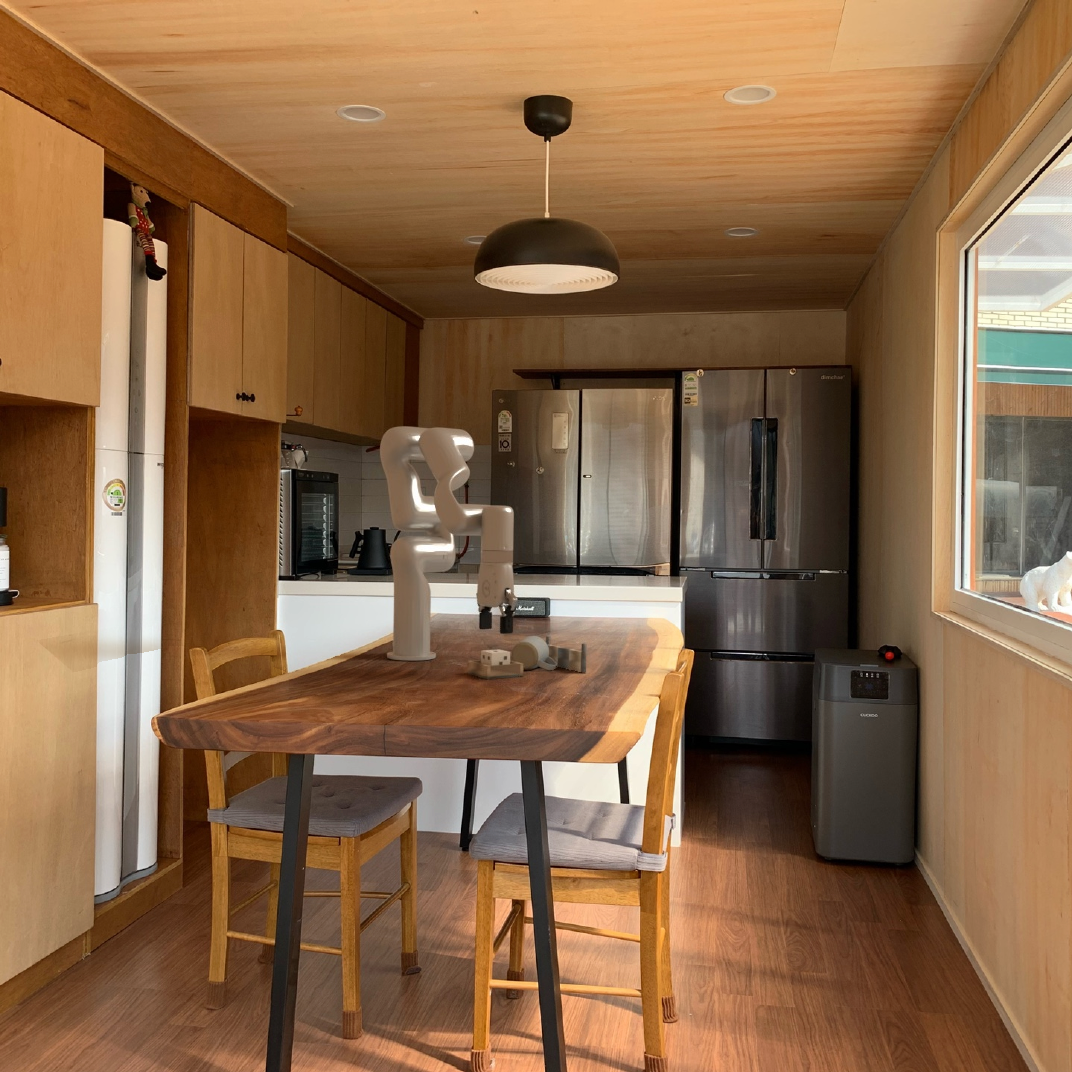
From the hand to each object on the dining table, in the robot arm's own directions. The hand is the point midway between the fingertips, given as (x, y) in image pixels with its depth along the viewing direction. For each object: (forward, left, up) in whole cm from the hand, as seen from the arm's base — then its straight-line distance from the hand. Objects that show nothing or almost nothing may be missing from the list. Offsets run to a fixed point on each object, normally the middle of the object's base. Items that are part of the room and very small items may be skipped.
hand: (495, 631), depth 244 cm
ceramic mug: (-5, +14, -11) cm, 18 cm away
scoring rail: (-2, +21, -10) cm, 23 cm away
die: (0, 0, -10) cm, 10 cm away
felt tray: (0, 0, -10) cm, 10 cm away
